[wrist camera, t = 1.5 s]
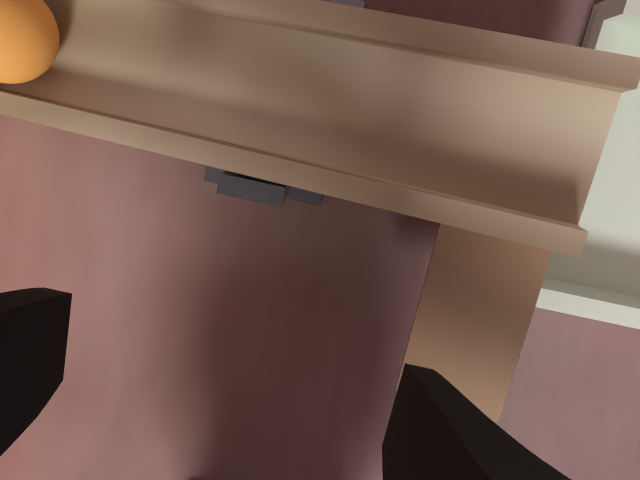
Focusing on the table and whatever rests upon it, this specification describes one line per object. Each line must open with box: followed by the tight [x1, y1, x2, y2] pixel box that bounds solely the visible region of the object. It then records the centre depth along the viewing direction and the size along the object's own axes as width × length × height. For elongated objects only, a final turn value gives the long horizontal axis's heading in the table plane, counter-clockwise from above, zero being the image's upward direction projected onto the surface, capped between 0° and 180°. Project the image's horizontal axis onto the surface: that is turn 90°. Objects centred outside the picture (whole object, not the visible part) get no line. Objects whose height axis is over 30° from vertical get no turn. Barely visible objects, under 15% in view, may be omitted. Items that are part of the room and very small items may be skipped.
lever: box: [0, 0, 640, 423], centre depth 17 cm, size 11×20×2 cm, turn 78°
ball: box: [0, 0, 59, 84], centre depth 16 cm, size 3×3×3 cm
